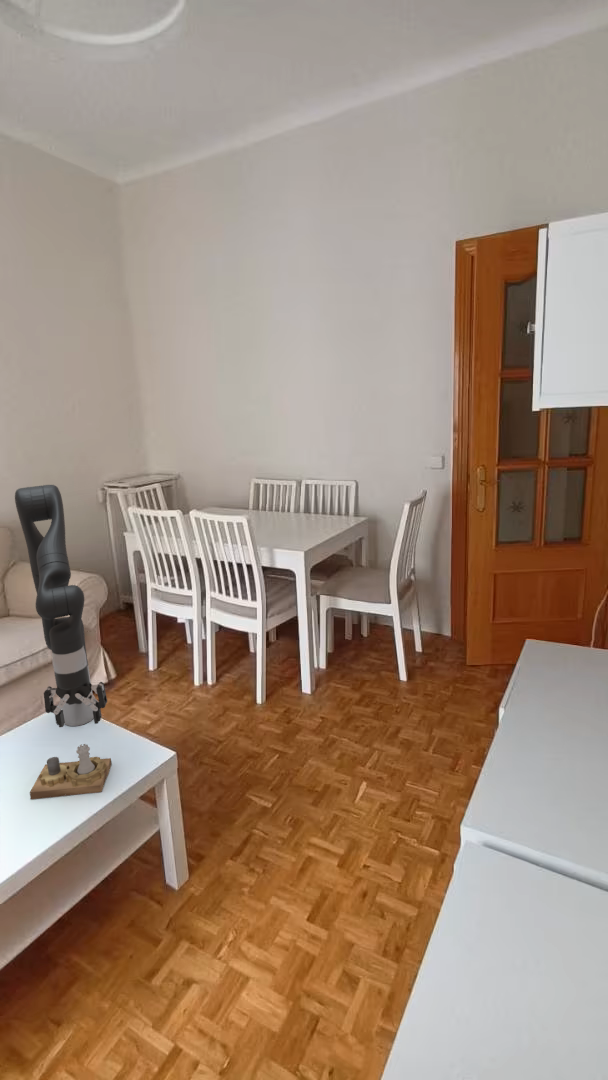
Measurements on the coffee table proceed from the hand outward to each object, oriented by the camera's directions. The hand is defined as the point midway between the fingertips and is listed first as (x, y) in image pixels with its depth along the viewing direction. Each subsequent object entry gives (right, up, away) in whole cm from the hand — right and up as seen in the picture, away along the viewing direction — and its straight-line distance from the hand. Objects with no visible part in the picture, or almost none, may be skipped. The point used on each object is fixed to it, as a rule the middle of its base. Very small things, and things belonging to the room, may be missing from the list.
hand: (79, 723), depth 138 cm
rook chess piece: (+1, -14, +3) cm, 15 cm away
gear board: (-3, -16, +4) cm, 17 cm away
